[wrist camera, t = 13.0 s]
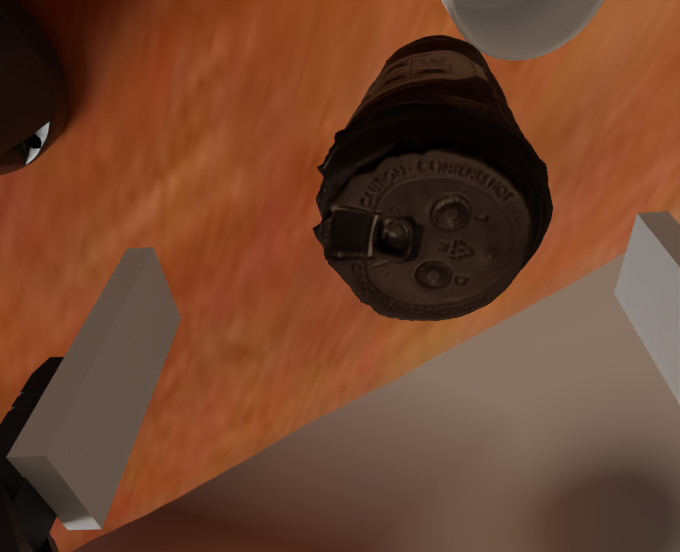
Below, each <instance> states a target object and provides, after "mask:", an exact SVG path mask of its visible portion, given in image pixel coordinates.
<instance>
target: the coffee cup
mask: <svg viewBox="0 0 680 552" xmlns="http://www.w3.org/2000/svg"><path fill="white" fill-rule="evenodd" d="M334 139H335V143H334V145H333V146H332V147H331V148H330V149H329V154H328V155H327V156H326V158H325V160H324V163H323V164H322V165H320V166H318V167H317V168H318V170H319V172H320V173H321V174H322V175H323V177H324V179H323V182H322V184H321V187H320V191H319V193H318V195H317V197H316V202H317V205H318V208H319V211H320V214H321V217H322V221H321V223H320V224H319V225H317V226H316V227H314V228H313V231H314V233H315V236H316V238H317V239H318V241H319V242H320V243H321V244H322V246H323V248H324V256H325V259H326V260H327V261H328V264H329V265H330V266H331V267H332V268H334V270H335V271H337V273H338V274H339V275H340V276H341V277H342V279H343V280H344V281H345V282H346V283H347V284H348V285H349V286H350V288H351V289H352V291H353V292H354V293H355V295H356V296H357V297H358V298H359V299H360V300H361V302H363V303H365V304H366V305H370V306H371V307H372V308H373V310H374V311H376V312H377V313H378V314H379V315H382V316H386V317H388V318H398V319H399V320H410V321H414V320H417V321H440V320H445V319H451V318H457V317H461V316H463V315H466V314H469V313H471V312H473V311H475V310H477V309H479V308H482V307H484V306H486V305H488V304H490V303H491V302H492V301H493V300H495V298H496V297H498V296H499V295H500V294H501V293H502V292H504V291H505V290H506V288H507V287H508V286H509V285H510V284H511V283H512V281H513V280H514V278H515V277H516V276H517V274H518V273H519V272H520V270H522V269H523V267H524V266H525V265H526V264H527V263H528V261H529V260H530V259H531V257H532V256H533V255H534V254H535V252H536V251H537V249H538V248H539V246H540V244H541V242H542V240H543V238H544V235H545V233H546V231H547V229H548V226H549V223H550V221H551V217H552V211H553V205H552V200H551V195H550V190H549V187H548V175H547V167H546V164H545V163H544V162H543V161H542V160H541V159H539V157H538V155H537V154H536V152H535V150H534V149H533V147H532V146H531V144H530V143H529V142H528V140H527V139H526V138H525V137H524V135H523V133H522V132H521V130H520V128H519V126H518V124H517V123H516V121H515V118H514V116H513V113H512V111H511V110H510V108H509V107H508V104H507V101H506V98H505V95H504V93H503V91H502V89H501V87H500V85H499V83H498V82H497V80H496V78H495V77H494V75H493V74H492V73H491V71H490V69H489V67H488V65H487V63H486V61H485V59H484V57H483V56H482V55H481V53H480V52H479V50H478V49H477V48H476V47H474V46H473V45H471V44H470V43H468V42H465V41H462V40H459V39H456V38H453V37H450V36H445V35H433V36H427V37H423V38H421V39H418V40H415V41H413V42H411V43H409V44H407V45H405V46H403V47H401V48H400V49H398V50H397V51H396V52H395V53H394V54H393V55H392V56H391V57H390V58H389V59H388V60H387V61H386V63H385V65H384V67H383V69H382V70H381V72H380V74H379V75H378V77H377V78H376V80H375V81H374V82H373V83H372V84H371V86H370V87H369V89H368V91H367V93H366V95H365V96H364V98H363V99H362V101H361V104H360V105H359V106H358V108H357V109H356V111H355V112H354V114H353V115H352V117H351V119H350V121H349V123H348V125H347V126H346V128H345V129H344V130H341V131H338V132H337V133H336V134H335V137H334Z"/></svg>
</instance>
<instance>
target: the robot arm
mask: <svg viewBox="0 0 680 552" xmlns="http://www.w3.org/2000/svg"><path fill="white" fill-rule="evenodd" d="M66 114H67V89H66V83H65V78H64V75H63V71H62V68H61V65H60V62H59V60H58V58H57V55H56V53H55V51H54V49H53V47H52V45H51V43H50V42H49V40H48V38H47V37H46V35H45V34H44V32H43V30H42V29H41V28H40V26H39V25H38V23H37V22H36V21H35V20H34V18H33V17H32V16H31V15H30V13H29V12H28V11H27V10H26V9H25V8H24V7H23V6H22V5H21V4H20V3H19V2H18V1H17V0H0V175H4V174H7V173H11V172H14V171H17V170H19V169H21V168H23V167H25V166H27V165H29V164H31V163H32V162H33V161H35V160H36V159H37V158H38V157H39V156H41V155H42V154H43V153H44V152H45V151H46V150H47V149H48V148H49V147H50V146H51V145H52V144H53V143H54V142H55V140H56V139H57V138H58V136H59V134H60V133H61V130H62V128H63V126H64V122H65V119H66ZM614 294H615V296H616V298H617V299H618V301H619V303H620V304H621V306H622V308H623V309H624V311H625V313H626V314H627V316H628V318H629V320H630V321H631V323H632V325H633V326H634V328H635V330H636V331H637V333H638V335H639V336H640V338H641V340H642V342H643V343H644V345H645V347H646V348H647V350H648V352H649V353H650V355H651V357H652V358H653V360H654V362H655V363H656V365H657V367H658V369H659V370H660V372H661V374H662V375H663V377H664V379H665V380H666V382H667V384H668V385H669V387H670V389H671V391H672V392H673V394H674V396H675V397H676V399H677V401H678V402H679V404H680V225H679V224H678V223H677V221H676V220H675V219H674V218H673V217H672V216H671V215H670V213H669V212H668V211H666V212H651V213H637V216H636V219H635V223H634V226H633V230H632V233H631V237H630V240H629V244H628V247H627V251H626V254H625V257H624V261H623V265H622V268H621V272H620V275H619V278H618V282H617V285H616V289H615V292H614ZM180 320H181V318H180V315H179V313H178V310H177V307H176V305H175V302H174V300H173V297H172V294H171V292H170V289H169V287H168V284H167V281H166V279H165V276H164V274H163V271H162V268H161V266H160V263H159V261H158V258H157V255H156V253H155V250H154V248H153V247H147V248H132V249H127V250H126V252H125V253H124V255H123V257H122V258H121V260H120V262H119V264H118V265H117V267H116V269H115V271H114V272H113V274H112V276H111V277H110V279H109V281H108V283H107V284H106V286H105V288H104V290H103V291H102V293H101V295H100V296H99V298H98V300H97V302H96V303H95V305H94V307H93V309H92V310H91V312H90V314H89V315H88V317H87V319H86V321H85V322H84V324H83V326H82V328H81V329H80V331H79V333H78V334H77V336H76V338H75V340H74V341H73V343H72V345H71V346H70V348H69V350H68V352H67V353H66V355H65V357H50V358H49V359H48V360H47V361H45V362H44V363H43V364H42V365H41V366H40V367H39V368H38V369H37V370H36V371H35V372H33V373H32V374H31V376H30V378H29V379H28V381H27V382H26V384H25V386H24V387H23V389H22V390H21V392H20V393H21V395H20V396H18V397H17V398H16V400H15V402H14V403H13V405H12V406H11V411H8V413H7V414H6V416H5V418H4V419H3V421H2V422H1V424H0V552H59V551H58V549H57V546H56V543H55V540H54V539H53V538H52V537H51V535H50V534H49V532H50V530H51V528H52V525H53V523H54V521H55V519H56V517H57V518H58V519H59V520H60V521H61V522H62V524H63V525H64V526H65V527H66V528H67V530H87V529H102V527H103V525H104V522H105V519H106V517H107V514H108V511H109V509H110V506H111V503H112V501H113V498H114V495H115V493H116V490H117V487H118V485H119V482H120V479H121V477H122V474H123V471H124V469H125V466H126V463H127V461H128V458H129V455H130V453H131V450H132V447H133V445H134V442H135V439H136V437H137V434H138V432H139V429H140V426H141V424H142V421H143V418H144V416H145V413H146V410H147V408H148V405H149V402H150V400H151V397H152V394H153V392H154V389H155V386H156V384H157V381H158V378H159V376H160V373H161V370H162V368H163V365H164V362H165V360H166V357H167V354H168V352H169V349H170V346H171V344H172V341H173V338H174V336H175V333H176V330H177V328H178V325H179V322H180Z"/></svg>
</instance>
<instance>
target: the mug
mask: <svg viewBox="0 0 680 552" xmlns="http://www.w3.org/2000/svg"><path fill="white" fill-rule="evenodd" d="M441 1H442V2H443V4H444V6H445V8H446V9H447V11H448V13H449V15H450V16H451V18H452V20H453V22H454V23H455V25H456V27H457V29H458V30H459V32H460V33H461V35H462V36H463V37H464V38H465V40H466V41H467V42H468V43H470V44H471V45H473V46H474V47H476V48H477V49H478V50H479V51H480V52H482V53H484V54H486V55H488V56H491V57H494V58H497V59H502V60H514V61H518V60H527V59H532V58H536V57H539V56H542V55H545V54H547V53H550V52H552V51H554V50H556V49H558V48H559V47H561V46H563V45H564V44H566V43H567V42H569V41H570V40H571V39H572V38H574V37H575V36H576V35H577V34H578V33H579V32H580V31H581V30H582V29H583V28H584V27H585V26H586V25H587V24H588V23H589V22H590V21H591V19H592V18H593V17H594V16H595V14H596V13H597V11H598V10H599V8H600V7H601V5H602V3H603V1H604V0H441Z"/></svg>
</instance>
